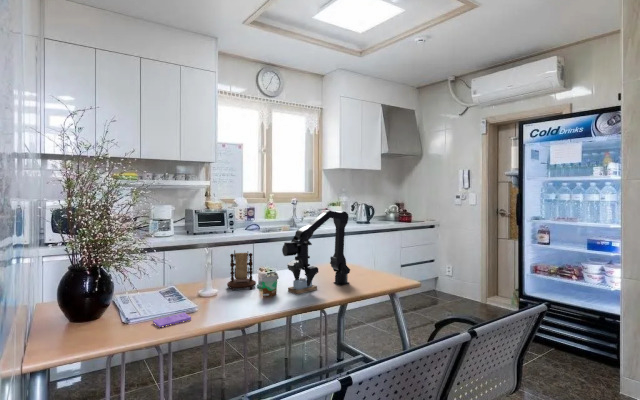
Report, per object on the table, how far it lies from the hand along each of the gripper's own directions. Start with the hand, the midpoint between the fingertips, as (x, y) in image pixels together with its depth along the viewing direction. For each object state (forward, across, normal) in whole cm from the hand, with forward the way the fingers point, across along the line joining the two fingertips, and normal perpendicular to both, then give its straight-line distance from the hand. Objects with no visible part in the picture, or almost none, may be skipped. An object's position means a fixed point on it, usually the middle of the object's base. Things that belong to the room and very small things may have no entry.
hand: (302, 284), depth 190 cm
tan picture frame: (+3, 0, 0) cm, 3 cm away
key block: (+3, 0, 0) cm, 3 cm away
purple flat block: (+4, 0, -66) cm, 66 cm away
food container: (+3, -4, -16) cm, 17 cm away
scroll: (+3, -25, -21) cm, 33 cm away
